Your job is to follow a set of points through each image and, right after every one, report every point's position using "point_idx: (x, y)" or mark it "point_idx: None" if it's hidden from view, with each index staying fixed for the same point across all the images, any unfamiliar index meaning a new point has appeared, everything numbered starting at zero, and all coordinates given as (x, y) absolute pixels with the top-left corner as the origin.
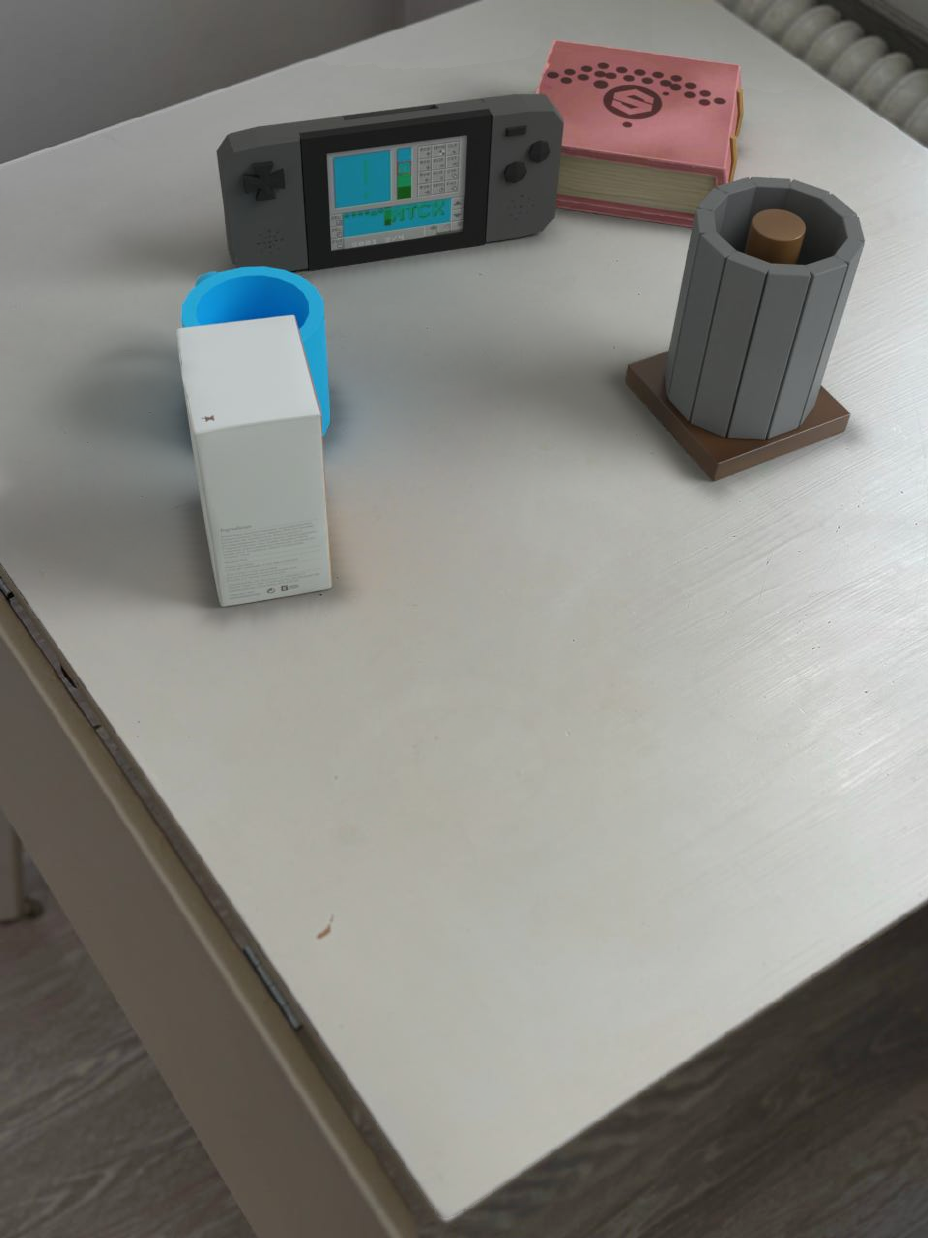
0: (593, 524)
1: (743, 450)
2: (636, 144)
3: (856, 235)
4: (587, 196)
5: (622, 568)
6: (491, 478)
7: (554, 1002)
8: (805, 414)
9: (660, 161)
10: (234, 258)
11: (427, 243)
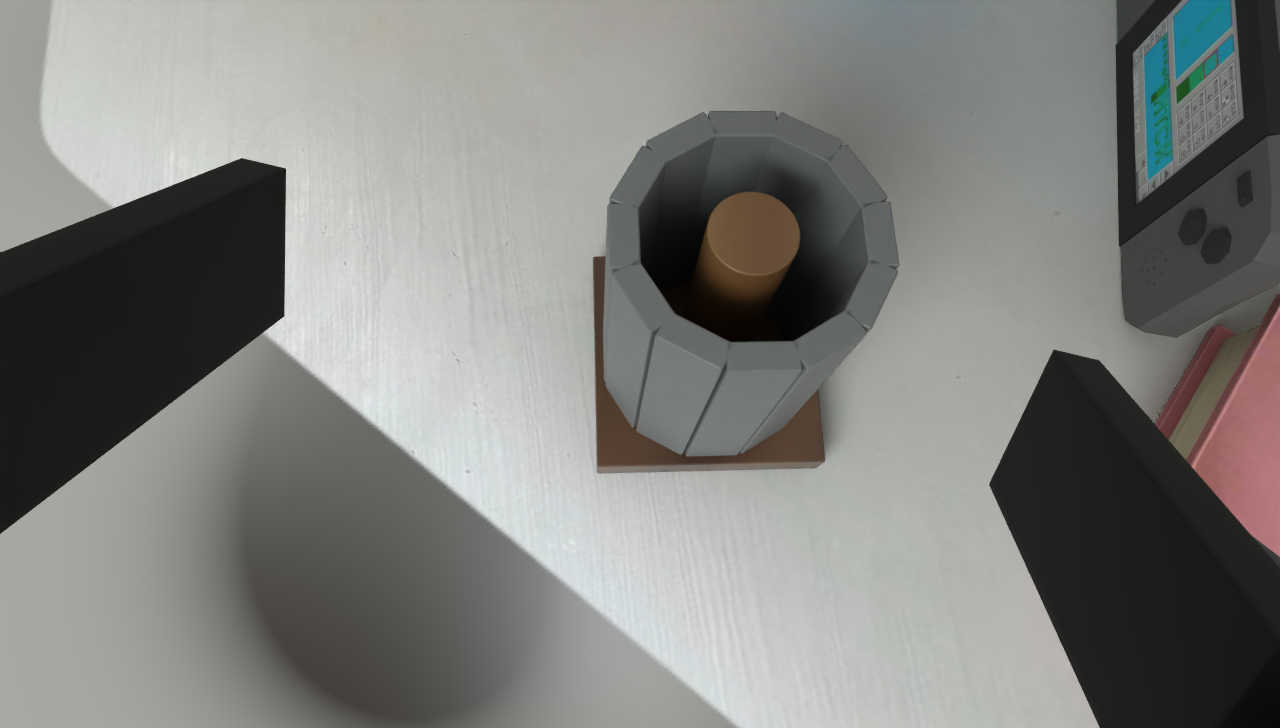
0: (595, 123)
1: (600, 296)
2: (1243, 449)
3: (673, 330)
4: (1187, 408)
5: (524, 117)
6: (705, 66)
7: None
8: (611, 390)
9: (1189, 463)
10: None
11: (1127, 166)
